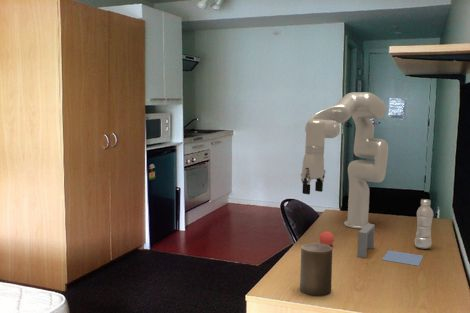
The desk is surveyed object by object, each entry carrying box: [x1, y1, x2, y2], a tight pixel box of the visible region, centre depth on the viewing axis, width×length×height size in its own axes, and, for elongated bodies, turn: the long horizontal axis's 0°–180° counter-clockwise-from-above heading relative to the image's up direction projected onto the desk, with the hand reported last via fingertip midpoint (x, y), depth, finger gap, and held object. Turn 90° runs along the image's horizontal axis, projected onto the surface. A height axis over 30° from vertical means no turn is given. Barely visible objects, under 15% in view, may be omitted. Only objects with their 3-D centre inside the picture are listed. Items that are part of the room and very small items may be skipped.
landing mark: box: [381, 250, 424, 267], centre depth 180 cm, size 13×13×1 cm
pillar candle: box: [299, 242, 333, 297], centre depth 147 cm, size 10×10×15 cm
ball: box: [318, 230, 335, 246], centre depth 194 cm, size 6×6×6 cm
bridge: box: [356, 223, 376, 259], centre depth 186 cm, size 3×15×10 cm, turn 152°
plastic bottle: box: [414, 198, 434, 250], centre depth 192 cm, size 6×7×20 cm
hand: (312, 192), depth 193 cm, fingers open, 9 cm apart
